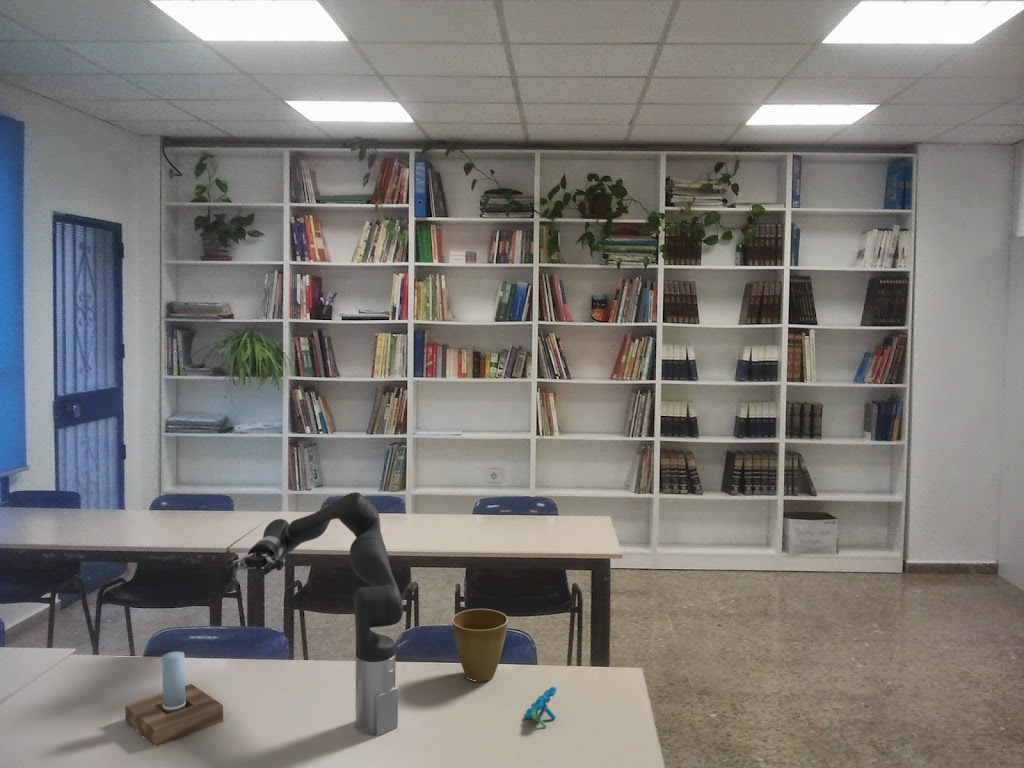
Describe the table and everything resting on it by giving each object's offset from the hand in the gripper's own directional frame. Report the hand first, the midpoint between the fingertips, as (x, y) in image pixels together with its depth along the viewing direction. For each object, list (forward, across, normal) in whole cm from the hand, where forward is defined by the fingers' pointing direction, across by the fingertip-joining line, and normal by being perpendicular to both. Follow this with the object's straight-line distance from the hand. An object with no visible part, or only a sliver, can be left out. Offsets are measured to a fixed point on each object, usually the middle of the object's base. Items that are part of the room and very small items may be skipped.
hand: (248, 570), depth 209 cm
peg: (+20, -12, +30) cm, 38 cm away
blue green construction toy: (+18, +75, +30) cm, 83 cm away
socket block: (+20, -12, +30) cm, 38 cm away
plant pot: (-5, +60, +30) cm, 67 cm away
